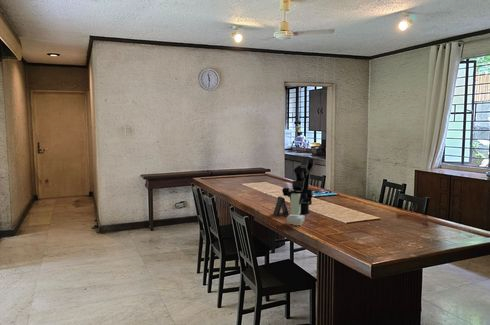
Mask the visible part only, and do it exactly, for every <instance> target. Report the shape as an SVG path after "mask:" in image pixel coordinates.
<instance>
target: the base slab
mask: <svg viewBox="0 0 490 325" xmlns="http://www.w3.org/2000/svg"><path fill="white" fill-rule="evenodd" d="M303 222H304V223H305V220H303V221H302V222H301V223H299V222H289V221H287V220H286V225H289V224H293V225H292V226H299V225H301V226H302V225H303V224H304V223H303Z"/></svg>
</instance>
